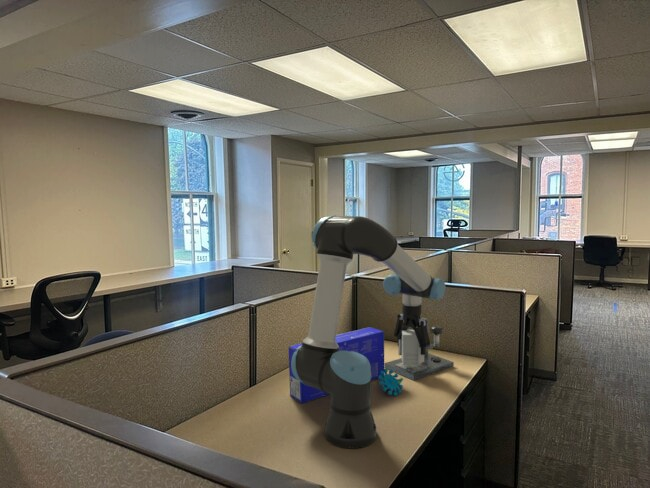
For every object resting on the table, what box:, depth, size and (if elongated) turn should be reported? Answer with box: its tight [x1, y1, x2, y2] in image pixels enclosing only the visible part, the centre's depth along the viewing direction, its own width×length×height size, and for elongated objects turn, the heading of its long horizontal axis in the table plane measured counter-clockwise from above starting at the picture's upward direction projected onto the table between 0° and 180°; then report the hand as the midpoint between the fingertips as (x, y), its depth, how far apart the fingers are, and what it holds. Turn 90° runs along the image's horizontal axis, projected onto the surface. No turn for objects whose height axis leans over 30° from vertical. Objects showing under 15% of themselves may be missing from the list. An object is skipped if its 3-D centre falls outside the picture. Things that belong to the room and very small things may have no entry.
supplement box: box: [400, 329, 421, 366], centre depth 172 cm, size 7×7×13 cm
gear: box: [377, 368, 404, 397], centre depth 155 cm, size 11×6×10 cm
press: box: [384, 317, 455, 381], centre depth 176 cm, size 24×16×18 cm, turn 126°
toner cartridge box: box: [288, 326, 385, 404], centre depth 158 cm, size 39×8×18 cm, turn 126°
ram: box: [429, 325, 444, 348], centre depth 179 cm, size 5×5×8 cm
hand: (411, 358), depth 172 cm, fingers closed on supplement box, 10 cm apart
